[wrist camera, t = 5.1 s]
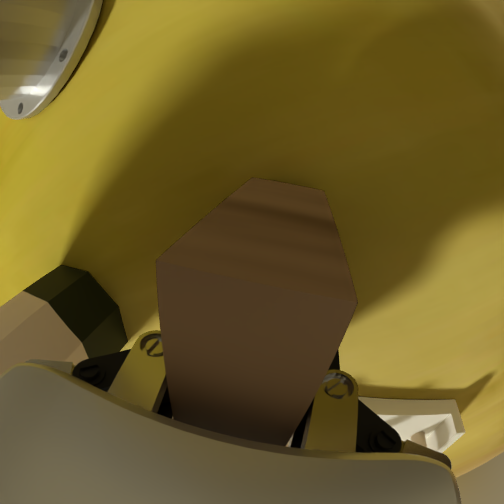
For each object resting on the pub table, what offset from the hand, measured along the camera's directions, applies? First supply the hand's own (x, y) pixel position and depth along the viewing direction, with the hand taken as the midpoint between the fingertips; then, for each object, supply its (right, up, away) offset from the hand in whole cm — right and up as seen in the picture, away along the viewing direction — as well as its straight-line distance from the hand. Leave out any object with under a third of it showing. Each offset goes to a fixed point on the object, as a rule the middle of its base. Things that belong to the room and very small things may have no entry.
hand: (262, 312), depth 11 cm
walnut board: (0, +1, +2) cm, 2 cm away
